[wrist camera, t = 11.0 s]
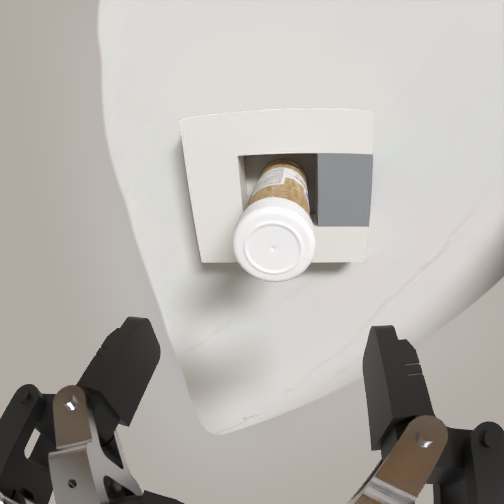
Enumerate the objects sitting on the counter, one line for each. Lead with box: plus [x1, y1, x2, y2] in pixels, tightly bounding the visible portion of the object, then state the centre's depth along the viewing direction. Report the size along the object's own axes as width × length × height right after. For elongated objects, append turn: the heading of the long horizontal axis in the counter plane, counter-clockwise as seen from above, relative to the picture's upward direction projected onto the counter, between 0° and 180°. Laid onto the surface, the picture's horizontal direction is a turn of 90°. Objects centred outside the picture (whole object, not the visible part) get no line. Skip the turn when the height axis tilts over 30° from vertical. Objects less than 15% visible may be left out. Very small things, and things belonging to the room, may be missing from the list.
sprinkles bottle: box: [232, 160, 316, 282], centre depth 21 cm, size 5×5×14 cm
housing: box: [179, 108, 373, 263], centre depth 26 cm, size 16×14×3 cm
